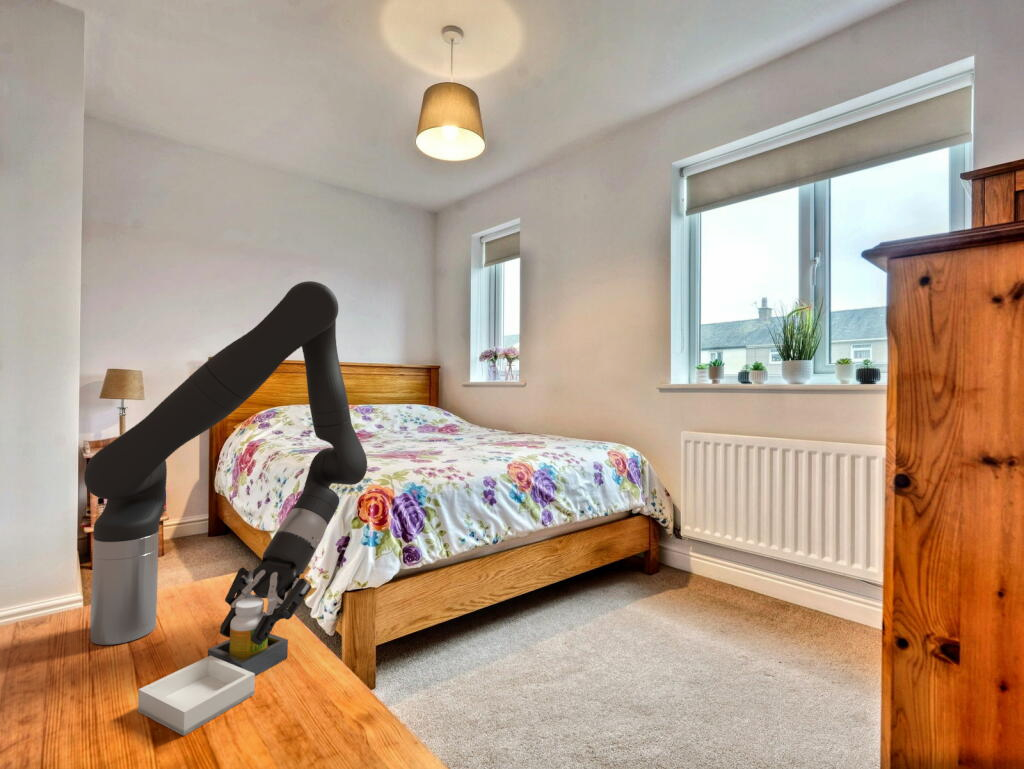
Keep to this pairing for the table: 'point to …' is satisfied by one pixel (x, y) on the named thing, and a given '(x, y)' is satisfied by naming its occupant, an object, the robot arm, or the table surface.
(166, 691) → the tray
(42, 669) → the table surface
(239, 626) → the supplement bottle
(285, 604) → the robot arm
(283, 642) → the holder sleeve
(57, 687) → the table surface
